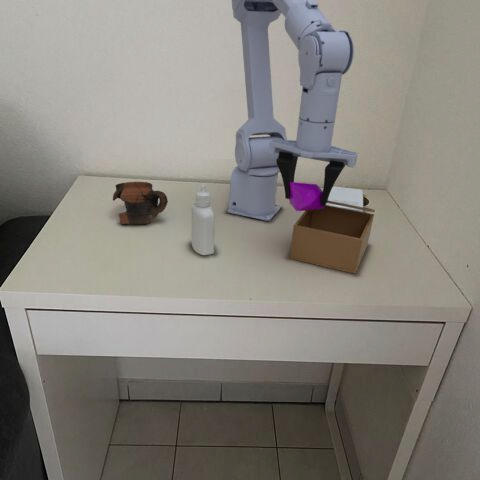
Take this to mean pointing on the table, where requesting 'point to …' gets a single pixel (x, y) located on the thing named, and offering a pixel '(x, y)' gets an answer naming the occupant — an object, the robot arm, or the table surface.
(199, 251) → the eye dropper bottle
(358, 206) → the carton flap
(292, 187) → the crystal
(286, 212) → the table surface
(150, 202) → the pottery mug
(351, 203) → the hard drive
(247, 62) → the robot arm
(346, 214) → the carton
